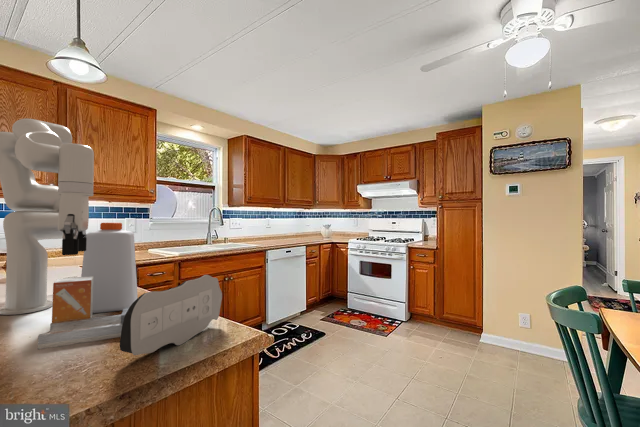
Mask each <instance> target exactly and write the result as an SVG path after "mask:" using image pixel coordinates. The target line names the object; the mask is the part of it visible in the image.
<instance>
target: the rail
mask: <svg viewBox="0 0 640 427" xmlns="http://www.w3.org/2000/svg"><path fill="white" fill-rule="evenodd" d="M128 309H129V307H127V308H124V309H123V310H122V312H121V314H114V315H106V316H97V317H92V318H87V319H79V320H70V321H62V322H53V323H52V322H50V324H49V332H46V333H39V334H38V335H37V350H40V349H41V350H42V349H49V348H54V347H61V346H62V347H63V346H67V345H76V344H82V343H89V342H90V343H91V342H95V341H96V342H97V341H103V340H109V339H115V338H120V337H121V330H122V325H123V321H124V317H125V315H126V312H127V311H128Z"/></svg>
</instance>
